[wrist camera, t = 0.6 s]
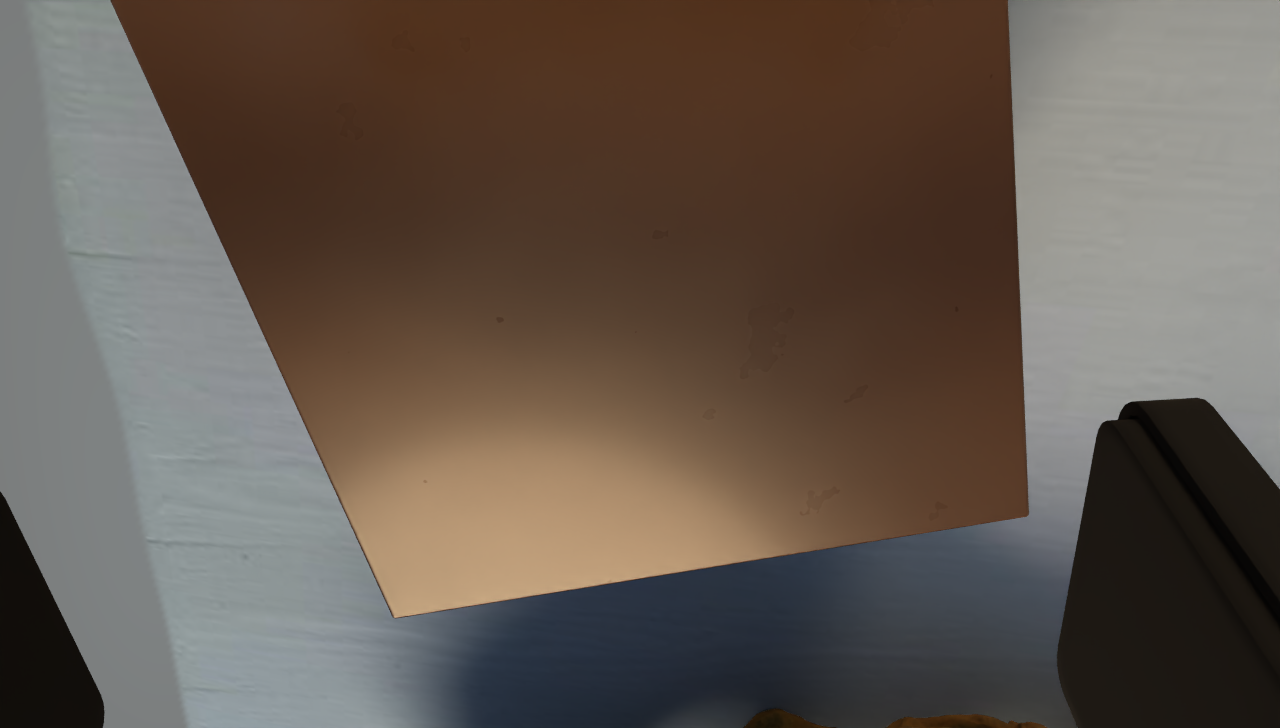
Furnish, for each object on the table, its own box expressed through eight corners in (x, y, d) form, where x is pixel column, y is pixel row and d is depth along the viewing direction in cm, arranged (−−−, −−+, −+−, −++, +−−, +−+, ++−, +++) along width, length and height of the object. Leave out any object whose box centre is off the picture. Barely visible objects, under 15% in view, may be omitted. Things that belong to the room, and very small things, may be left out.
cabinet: (255, -210, 23) (31, -168, 14) (857, -366, 21) (991, -417, 13) (462, 371, 30) (392, 620, 22) (919, 285, 28) (1029, 517, 20)
